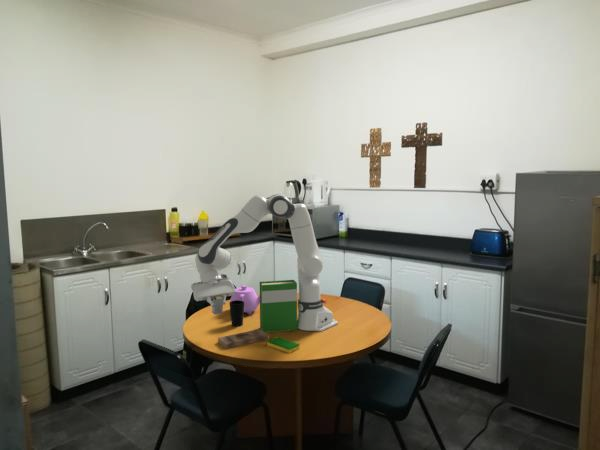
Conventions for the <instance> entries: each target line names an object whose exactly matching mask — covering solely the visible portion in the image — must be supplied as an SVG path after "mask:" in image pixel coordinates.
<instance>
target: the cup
mask: <svg viewBox="0 0 600 450" xmlns="http://www.w3.org/2000/svg"><path fill="white" fill-rule="evenodd" d="M229 310H230V321H231V326H232V327H235V328H237V327H242V326H243V323H244V313H245V312H244V301H240V300H235V301H231V302H230V301H229Z"/></svg>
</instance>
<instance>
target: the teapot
mask: <svg viewBox="0 0 600 450" xmlns="http://www.w3.org/2000/svg"><path fill="white" fill-rule="evenodd" d="M235 300H240V301H244V313H246V314H247V315H253V312H254V311H256V310H257V308H258V307H259V306H260V294H259V295H257V293H256V291H255V289H254V288H253V287H251V286H250V287H249V286H247V285H246V284H245V285H241V286H239V287H235V293H234V295H232V296H231V297H230V300H229V303H230V302H231V301H235Z"/></svg>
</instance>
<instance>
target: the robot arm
mask: <svg viewBox="0 0 600 450" xmlns="http://www.w3.org/2000/svg"><path fill="white" fill-rule="evenodd" d="M269 214H271V215H272V216H273V217H276V218H280V219H281V218H282V219H287V220H288V223H289V228H290V233H291V237H292V240H293V245H294V248H295V252H296V254H297V278H298V298H297V330H301V331H306V332H307V331H313V332H315V331H316V332H323V331H324V330H325V331H326V330H327V329H329V328H332V327H334V326H336V325H338V320H336V319H334V314H333V312H332V310H330V309H329V308H327V307H325V306H324V304H326V303H327V302H328V301H327V299H325V298H321V280H320V273H322V271H323V267H324V266H323V265H324V263H323V260H322V255H321V252H320V249H319V245H318V242H317V238H316V236H315V232H314V231H315V230H314V227H313V226H314V225H313V223H312V219H311V215H310V213H309V210H308V208H307V206H306V205H305V204H304V203H293V202H292V201H291V200H290V199H289V198H288V197H287V196H286V195H285V194H283V193H282V194H281V193H276V194H274V195H271V196H269V197H264V196H262V195H258V194H257V195H254V196H253V197H251V198H250V199H249V200H248V201H247V202H246V203H245V205H244V206H243V207H242V209H240V210H239V212H238V213H237V214H236V215H234V216H233V217H231V218H229V219H228V220H227V221H225V222H224V223H223V224H222V225H221V226H220V227H219V228H218V230H217V231H216V232H215V233H214V234H213V235H212V236H211V237H210V238H209V239H208V240H207V241H204V243H202V244H201V245H200V246H199V248H198V250H197V253H196V255H195V259H194V260H195V265H196V266H195V267H196V269H197V272H198V273H199V278H200V281H199V282H193V283H192V284H191V285H190V288H191V290H192V291H193V293H192V294H193V299H194V300H195V301H196V302H200V301H206V302H207V303H209V304H210V307H213V306H215V303H214V302H213V298H215V296H221V297H222V299H223V306H225V305H226V304H227V300H226V299H227V297H230V296H231V297H232V295H234V293H235V289H236V287H235V285H234V283H233V281H232V280H230V276H229V275H228V274H225V273H219V272H218V271H221V270H223V269H225V268H227V267H228V266H229V265H230V263H231V260H232V257H231V256H232V255H231V253H230V251H228V250H226V249H224V248H222V247H221V246H222V245H223V244H224V242H226V240H228V238H229V237H231V236H232V235H234V234H243V233H244V234H246V233H250V232H253V231H254V230H255V229H256V228H257V227H258V226H259V224H260V223H261V222H262V221H263V219H264V218H265V217H266V216H267V215H269Z"/></svg>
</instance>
